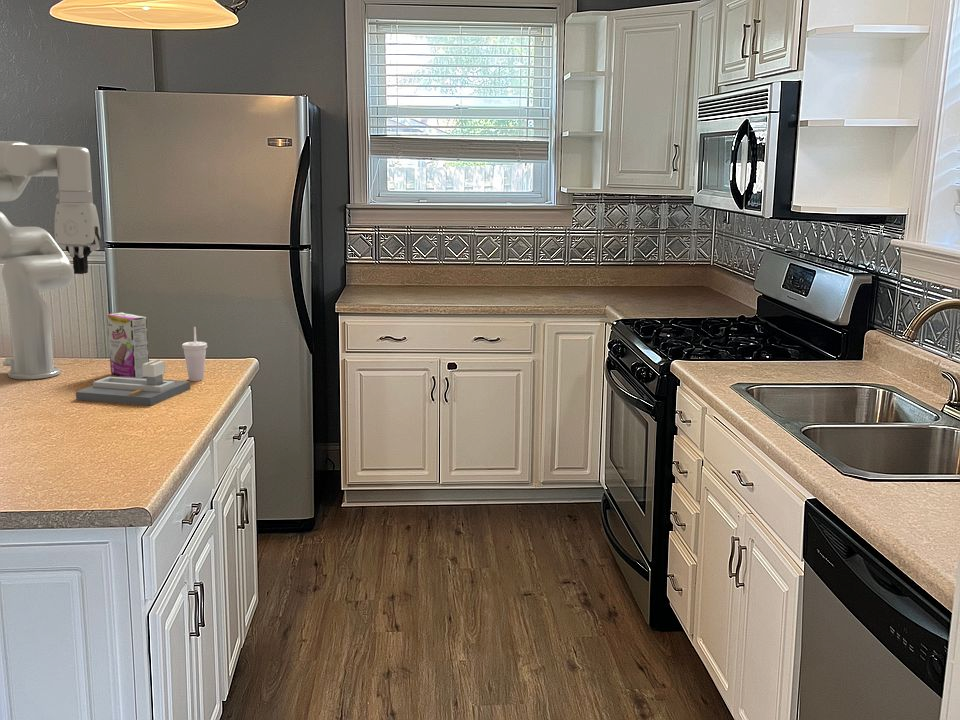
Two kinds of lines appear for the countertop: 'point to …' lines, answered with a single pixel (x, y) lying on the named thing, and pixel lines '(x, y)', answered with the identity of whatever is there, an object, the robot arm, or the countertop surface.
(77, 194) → the robot arm
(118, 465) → the countertop surface
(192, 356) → the smoothie
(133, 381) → the board
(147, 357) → the candy bar box
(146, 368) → the fader knob
